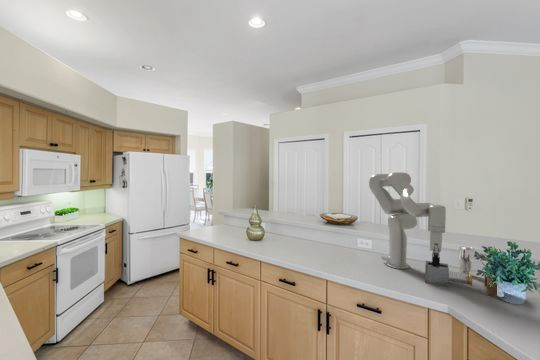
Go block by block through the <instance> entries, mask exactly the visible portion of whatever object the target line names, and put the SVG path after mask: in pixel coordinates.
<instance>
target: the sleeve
mask: <svg viewBox="0 0 540 360" xmlns="http://www.w3.org/2000/svg"><path fill="white" fill-rule="evenodd" d="M424 269H425V271H424V272H425V273H424V281H425V282H424V283H425V284H429V285H434V286H440V287H444V288H449V282H450V281H449V271H450V270H449V263H445V262H444V263H443V262H440V265H439V266H434V265H432V260H425V268H424Z"/></svg>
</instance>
